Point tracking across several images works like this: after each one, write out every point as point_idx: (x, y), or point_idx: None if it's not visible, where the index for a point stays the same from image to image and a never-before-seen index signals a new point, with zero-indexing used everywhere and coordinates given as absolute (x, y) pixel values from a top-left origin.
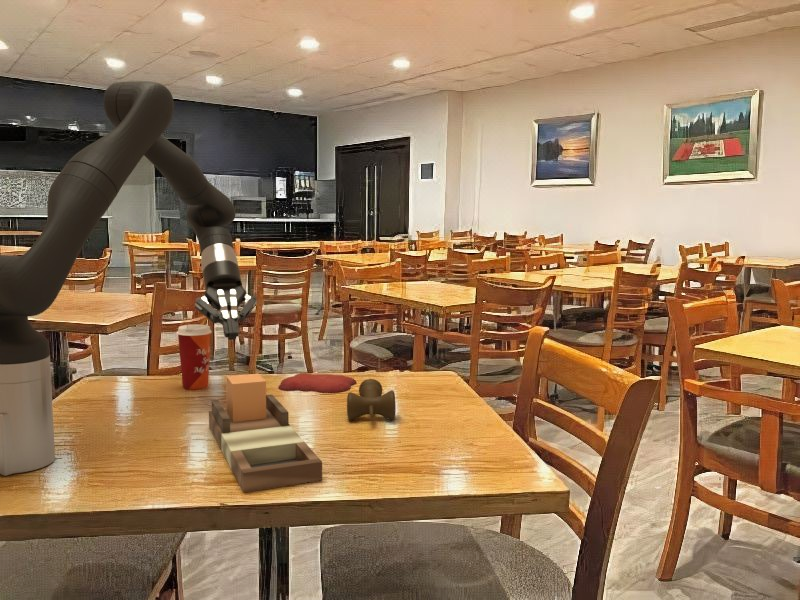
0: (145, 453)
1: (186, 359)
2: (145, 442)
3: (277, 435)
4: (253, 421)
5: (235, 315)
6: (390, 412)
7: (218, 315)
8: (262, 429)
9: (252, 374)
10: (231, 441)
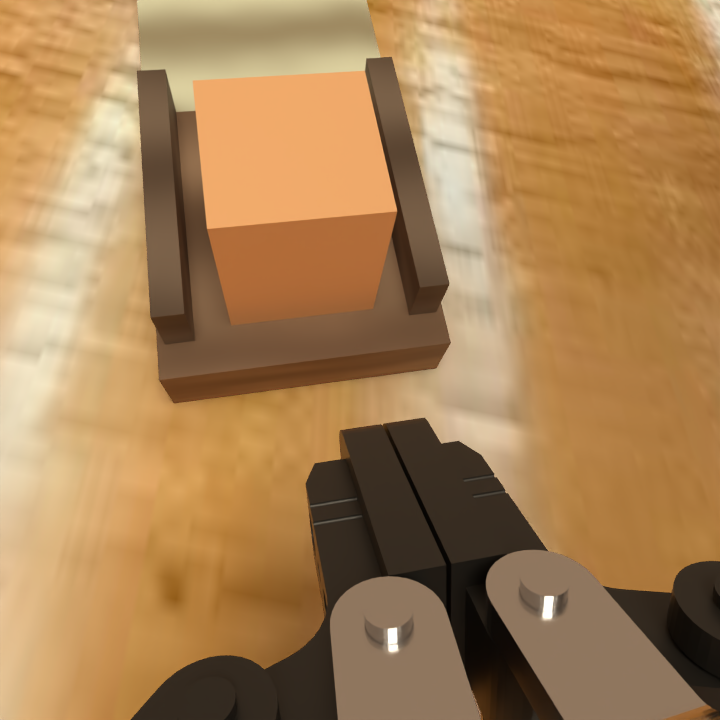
0: (602, 172)
1: None
2: (629, 259)
3: (208, 43)
4: None
5: (372, 609)
6: None
7: (685, 580)
8: None
9: (245, 217)
10: (357, 32)
